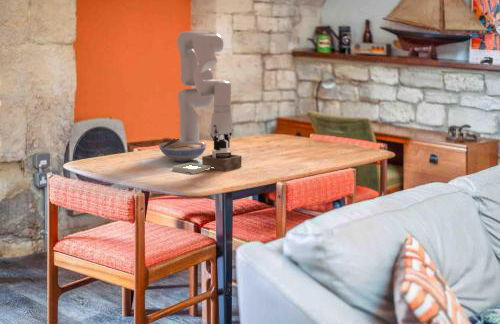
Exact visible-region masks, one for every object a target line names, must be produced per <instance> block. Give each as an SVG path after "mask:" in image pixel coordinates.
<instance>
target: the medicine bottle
mask: <svg viewBox="0 0 500 324" xmlns="http://www.w3.org/2000/svg"><path fill="white" fill-rule="evenodd" d="M219 141H220V150H214V149H212V151H211V152H212V153H211V154H212V158H218V159H228V158H231V154H232V152H231V151H230V150H229V148H228V141H227V140H223V139H221V138H220V140H219Z"/></svg>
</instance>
